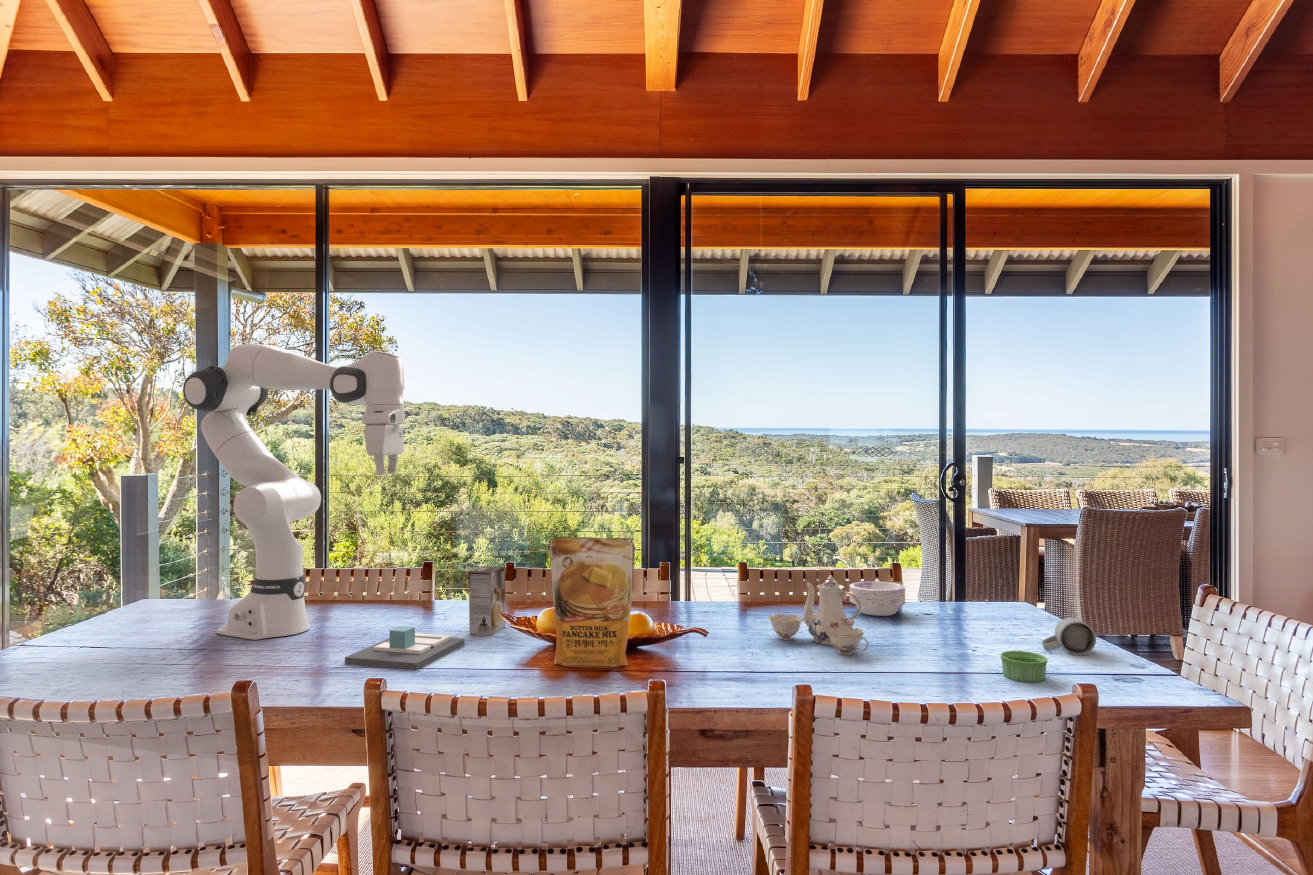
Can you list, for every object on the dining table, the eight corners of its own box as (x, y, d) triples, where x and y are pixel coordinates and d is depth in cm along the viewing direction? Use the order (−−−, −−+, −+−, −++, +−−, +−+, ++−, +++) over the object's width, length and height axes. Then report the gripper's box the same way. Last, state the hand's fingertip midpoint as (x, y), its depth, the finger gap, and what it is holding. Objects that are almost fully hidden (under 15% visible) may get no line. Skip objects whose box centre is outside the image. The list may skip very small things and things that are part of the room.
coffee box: (483, 625, 210) (483, 565, 210) (506, 626, 209) (505, 566, 209) (468, 634, 201) (468, 571, 201) (492, 635, 200) (491, 572, 200)
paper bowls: (861, 604, 235) (861, 578, 234) (912, 611, 226) (912, 583, 226) (841, 614, 222) (841, 586, 222) (894, 621, 213) (894, 592, 213)
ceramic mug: (1086, 647, 188) (1086, 614, 188) (1096, 656, 180) (1096, 622, 180) (1038, 644, 190) (1037, 613, 190) (1046, 654, 183) (1045, 621, 183)
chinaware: (757, 645, 196) (753, 580, 195) (794, 626, 208) (790, 564, 207) (859, 668, 177) (855, 595, 176) (893, 645, 189) (890, 577, 188)
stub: (373, 650, 181) (373, 629, 181) (385, 645, 185) (385, 624, 185) (420, 653, 178) (420, 632, 177) (430, 648, 182) (430, 628, 182)
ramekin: (1033, 670, 170) (1033, 650, 170) (1056, 683, 161) (1056, 662, 161) (992, 670, 170) (992, 650, 170) (1013, 684, 161) (1013, 662, 161)
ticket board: (344, 663, 175) (344, 653, 175) (399, 639, 196) (399, 630, 196) (416, 670, 171) (416, 658, 171) (464, 644, 191) (464, 634, 191)
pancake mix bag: (552, 658, 179) (551, 535, 179) (635, 660, 178) (635, 536, 178) (545, 667, 173) (545, 539, 172) (632, 669, 171) (631, 540, 171)
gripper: (384, 418, 203) (385, 472, 203) (359, 416, 182) (360, 476, 182) (409, 418, 203) (410, 471, 203) (387, 416, 183) (388, 475, 183)
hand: (386, 473), depth 193 cm, fingers open, 8 cm apart
